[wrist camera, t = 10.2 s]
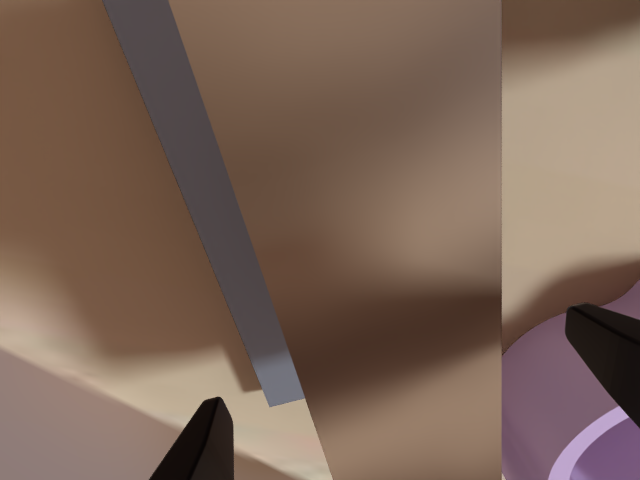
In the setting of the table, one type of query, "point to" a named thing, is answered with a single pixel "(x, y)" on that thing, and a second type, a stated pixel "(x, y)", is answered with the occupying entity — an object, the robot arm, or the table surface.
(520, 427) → the clip
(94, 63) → the table surface
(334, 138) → the brown rectangular block
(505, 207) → the table surface
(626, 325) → the robot arm
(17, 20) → the table surface
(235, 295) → the peg stand
